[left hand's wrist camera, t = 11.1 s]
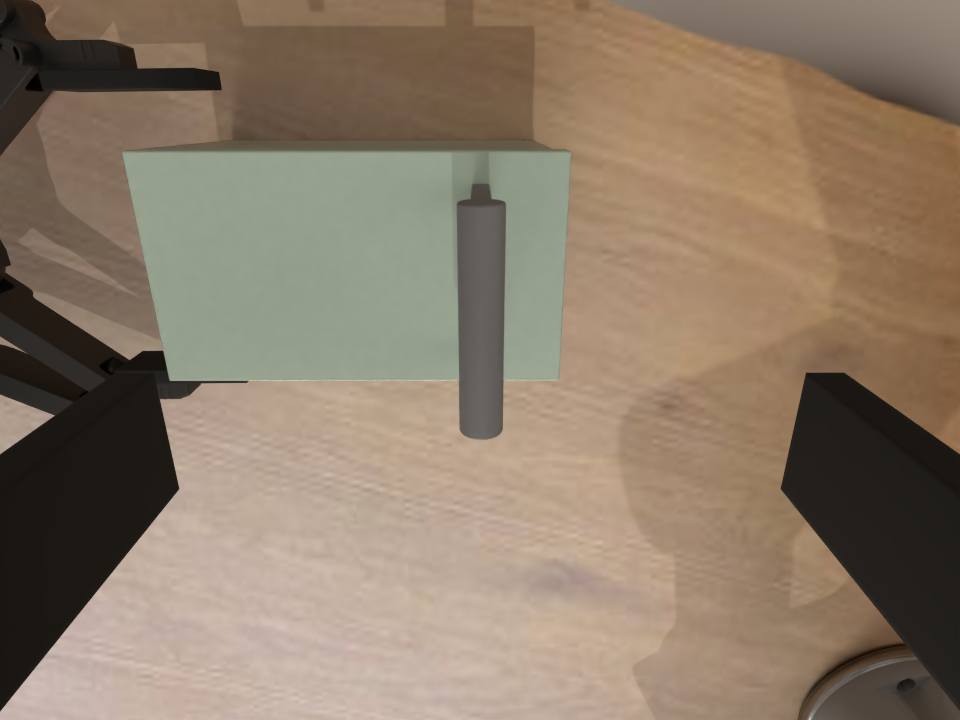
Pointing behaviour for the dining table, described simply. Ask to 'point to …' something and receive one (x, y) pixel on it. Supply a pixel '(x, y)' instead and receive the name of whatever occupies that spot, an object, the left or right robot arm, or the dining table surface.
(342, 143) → the chest
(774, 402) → the dining table surface
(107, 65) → the right robot arm
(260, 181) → the lid
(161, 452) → the left robot arm
